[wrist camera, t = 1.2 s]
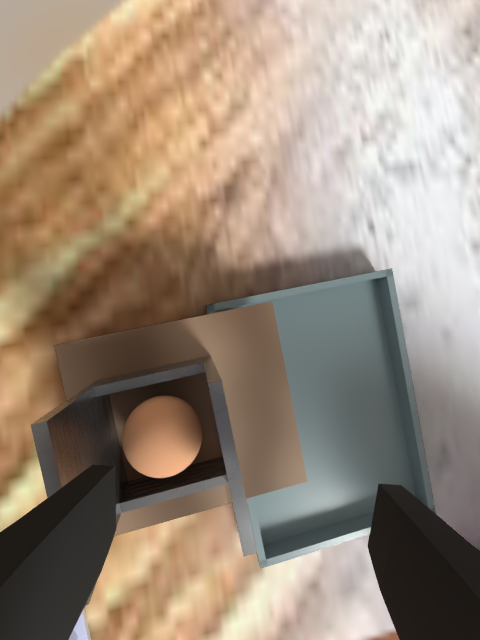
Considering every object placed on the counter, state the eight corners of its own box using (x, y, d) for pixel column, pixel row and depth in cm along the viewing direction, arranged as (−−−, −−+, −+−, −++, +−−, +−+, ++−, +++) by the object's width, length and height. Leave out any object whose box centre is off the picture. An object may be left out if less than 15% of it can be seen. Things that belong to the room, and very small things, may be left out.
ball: (138, 464, 15) (124, 505, 12) (123, 396, 15) (105, 418, 12) (207, 447, 15) (211, 481, 12) (193, 380, 15) (193, 398, 12)
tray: (255, 548, 20) (260, 568, 18) (205, 305, 19) (206, 304, 18) (417, 498, 21) (435, 513, 20) (376, 271, 21) (391, 268, 19)
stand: (118, 493, 19) (98, 540, 15) (83, 338, 18) (54, 345, 14) (284, 448, 20) (307, 481, 16) (256, 304, 20) (272, 301, 16)
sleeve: (120, 491, 15) (73, 608, 9) (96, 380, 15) (30, 424, 9) (232, 462, 16) (256, 552, 10) (210, 355, 15) (221, 380, 9)
